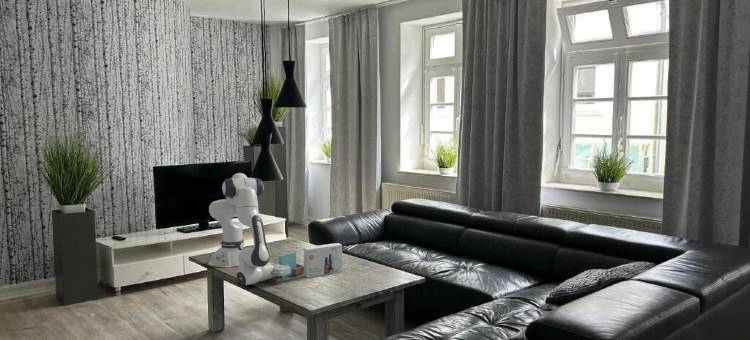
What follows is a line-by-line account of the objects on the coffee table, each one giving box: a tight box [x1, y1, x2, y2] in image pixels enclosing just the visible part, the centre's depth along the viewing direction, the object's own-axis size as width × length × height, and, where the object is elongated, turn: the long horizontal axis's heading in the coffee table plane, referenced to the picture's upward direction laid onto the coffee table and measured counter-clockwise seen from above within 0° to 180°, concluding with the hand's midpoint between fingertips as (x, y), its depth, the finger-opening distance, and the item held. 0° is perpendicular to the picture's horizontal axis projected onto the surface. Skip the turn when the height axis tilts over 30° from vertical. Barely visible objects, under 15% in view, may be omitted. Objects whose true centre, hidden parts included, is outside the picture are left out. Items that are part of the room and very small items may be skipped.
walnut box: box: [292, 263, 304, 277], centre depth 321 cm, size 8×11×4 cm
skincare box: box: [302, 242, 343, 279], centre depth 317 cm, size 21×5×16 cm, turn 117°
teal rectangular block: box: [278, 251, 297, 279], centre depth 316 cm, size 10×2×12 cm, turn 140°
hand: (285, 265), depth 315 cm, fingers closed on teal rectangular block, 2 cm apart
